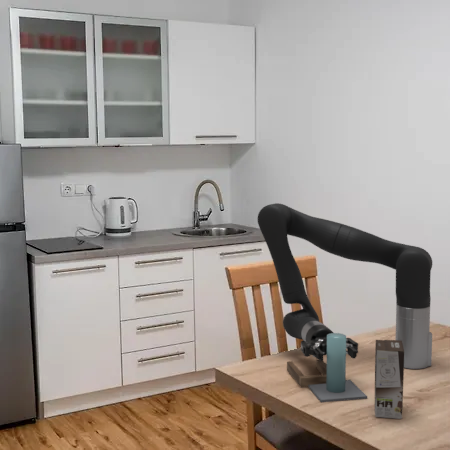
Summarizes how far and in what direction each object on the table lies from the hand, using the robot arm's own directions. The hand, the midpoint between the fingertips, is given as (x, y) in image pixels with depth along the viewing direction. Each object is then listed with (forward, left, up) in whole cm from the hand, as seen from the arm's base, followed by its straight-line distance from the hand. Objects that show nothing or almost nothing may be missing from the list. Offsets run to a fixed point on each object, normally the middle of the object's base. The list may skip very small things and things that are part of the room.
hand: (338, 355), depth 173 cm
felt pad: (0, -1, -10) cm, 10 cm away
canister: (0, -1, -9) cm, 9 cm away
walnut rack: (+3, -13, -10) cm, 17 cm away
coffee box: (-8, +13, -10) cm, 18 cm away
